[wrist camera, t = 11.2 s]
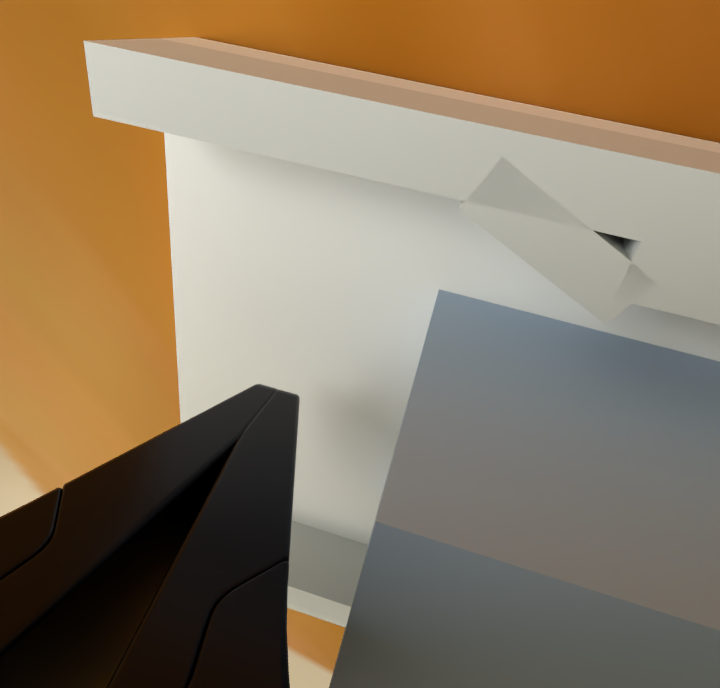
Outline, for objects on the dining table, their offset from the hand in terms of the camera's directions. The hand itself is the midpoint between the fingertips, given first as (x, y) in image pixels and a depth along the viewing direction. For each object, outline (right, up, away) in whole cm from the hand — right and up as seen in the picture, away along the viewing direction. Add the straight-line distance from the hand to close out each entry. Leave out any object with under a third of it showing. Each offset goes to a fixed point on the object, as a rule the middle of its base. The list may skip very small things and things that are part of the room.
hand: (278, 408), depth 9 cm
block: (+5, -1, 0) cm, 5 cm away
